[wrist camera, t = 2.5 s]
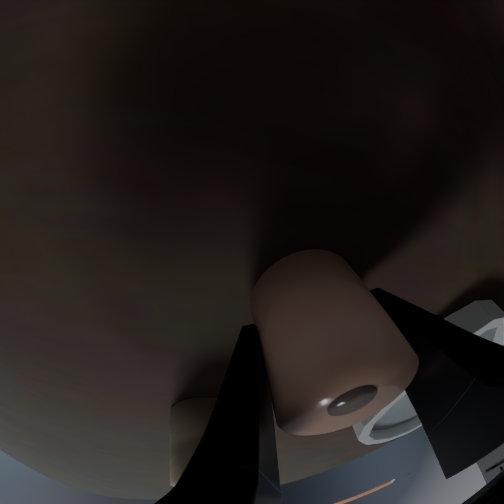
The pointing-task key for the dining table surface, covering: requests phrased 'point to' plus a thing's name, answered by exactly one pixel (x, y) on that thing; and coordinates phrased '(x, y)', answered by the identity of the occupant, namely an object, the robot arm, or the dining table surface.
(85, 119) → the dining table surface
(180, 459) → the maple bead
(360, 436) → the ring tray
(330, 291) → the terracotta bead
